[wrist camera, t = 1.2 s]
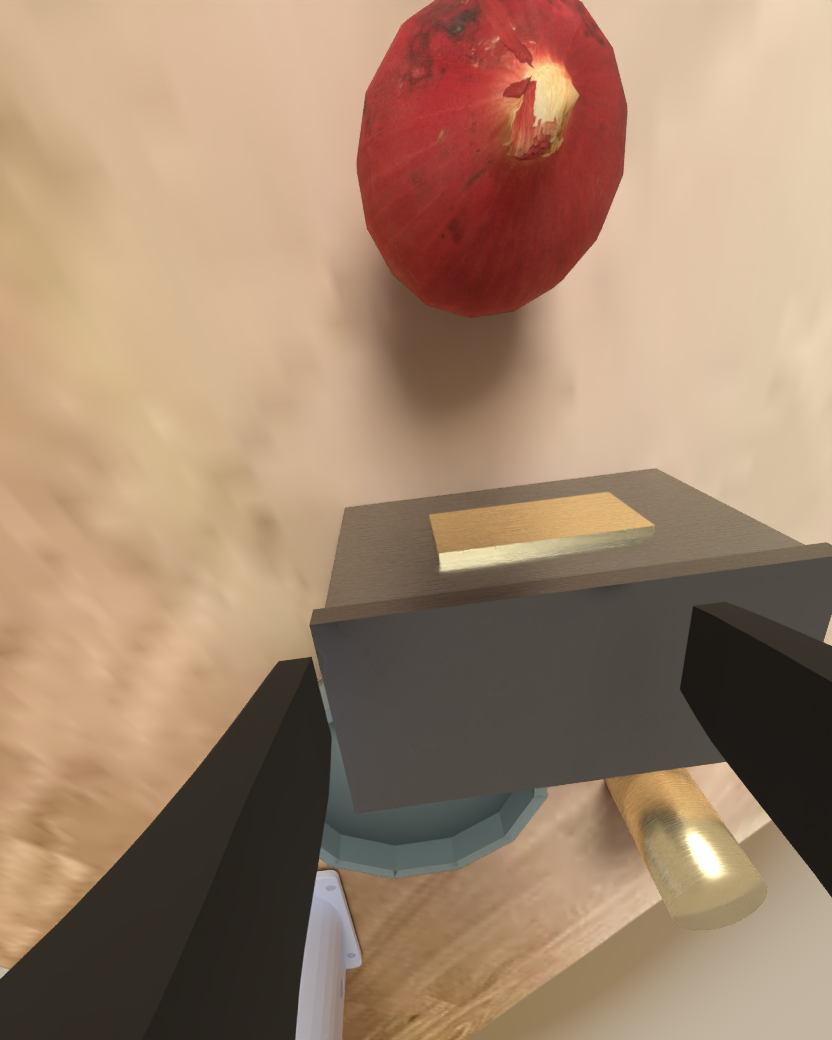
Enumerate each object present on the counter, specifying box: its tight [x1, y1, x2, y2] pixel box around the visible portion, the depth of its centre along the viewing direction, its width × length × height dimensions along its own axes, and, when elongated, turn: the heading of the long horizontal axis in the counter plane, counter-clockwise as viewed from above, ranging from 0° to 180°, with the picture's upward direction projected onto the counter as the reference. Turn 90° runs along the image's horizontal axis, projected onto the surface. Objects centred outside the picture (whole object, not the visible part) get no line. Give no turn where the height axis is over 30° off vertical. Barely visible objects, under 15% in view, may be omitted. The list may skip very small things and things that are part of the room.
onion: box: [357, 0, 627, 318], centre depth 10 cm, size 6×6×8 cm
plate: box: [318, 679, 547, 879], centre depth 21 cm, size 12×12×2 cm
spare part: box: [605, 767, 767, 930], centre depth 21 cm, size 4×4×6 cm
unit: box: [310, 469, 832, 814], centre depth 15 cm, size 6×12×8 cm, turn 96°
